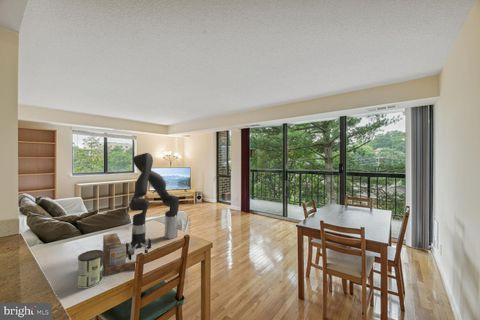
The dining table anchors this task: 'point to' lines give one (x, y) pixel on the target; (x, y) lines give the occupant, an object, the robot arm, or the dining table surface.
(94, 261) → the coffee can
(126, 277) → the dining table surface
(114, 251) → the ink box
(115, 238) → the shelf bay
